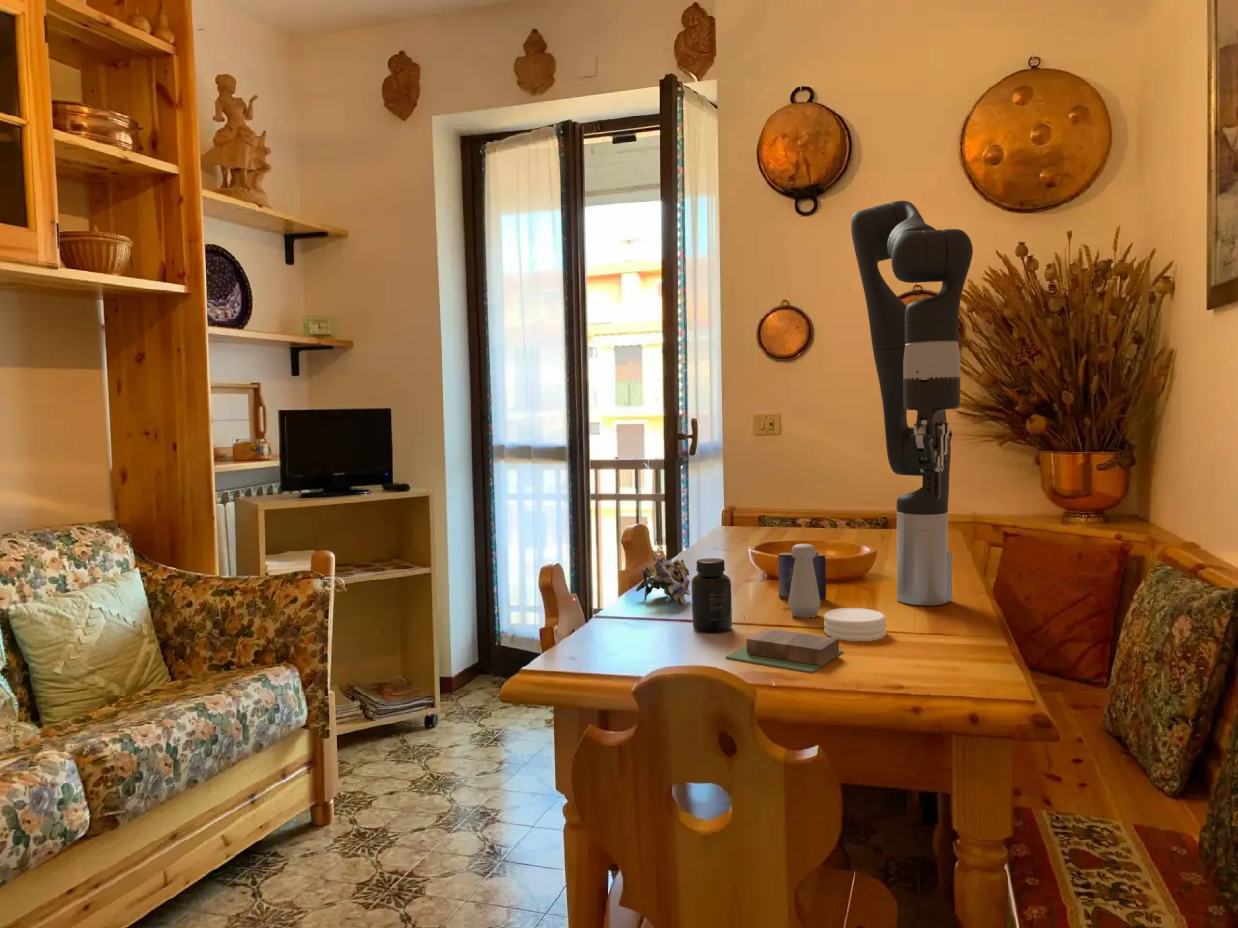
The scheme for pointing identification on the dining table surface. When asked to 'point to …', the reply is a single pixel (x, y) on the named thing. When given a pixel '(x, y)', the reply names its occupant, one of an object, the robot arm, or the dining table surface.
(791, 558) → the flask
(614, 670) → the dining table surface
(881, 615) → the coaster
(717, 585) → the supplement bottle
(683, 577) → the passion flower
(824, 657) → the wooden block
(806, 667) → the felt mat
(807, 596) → the salt shaker
